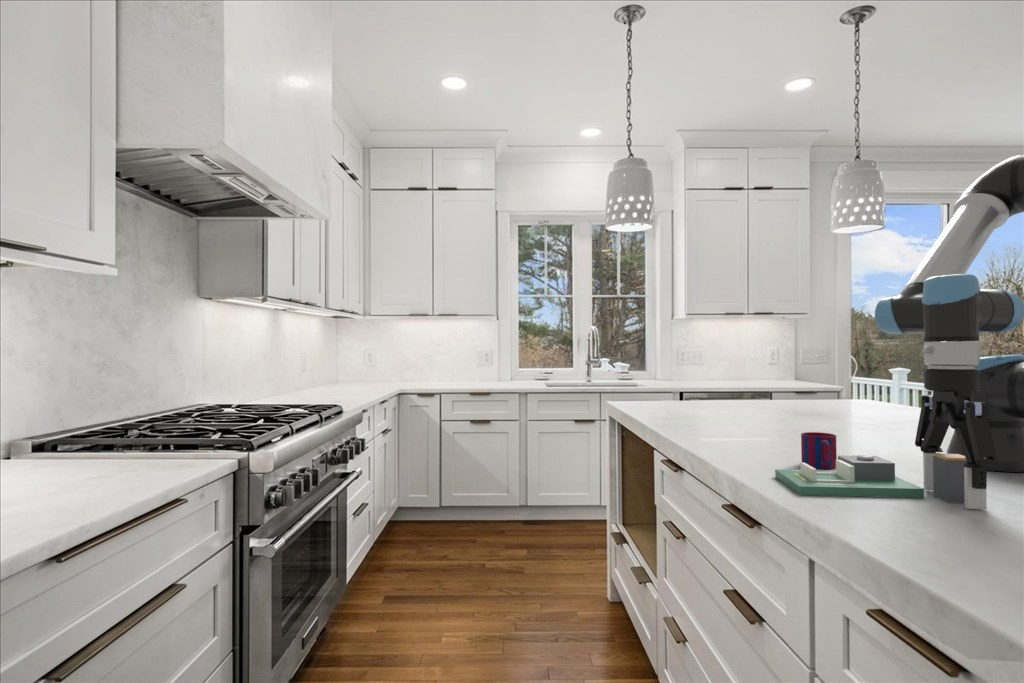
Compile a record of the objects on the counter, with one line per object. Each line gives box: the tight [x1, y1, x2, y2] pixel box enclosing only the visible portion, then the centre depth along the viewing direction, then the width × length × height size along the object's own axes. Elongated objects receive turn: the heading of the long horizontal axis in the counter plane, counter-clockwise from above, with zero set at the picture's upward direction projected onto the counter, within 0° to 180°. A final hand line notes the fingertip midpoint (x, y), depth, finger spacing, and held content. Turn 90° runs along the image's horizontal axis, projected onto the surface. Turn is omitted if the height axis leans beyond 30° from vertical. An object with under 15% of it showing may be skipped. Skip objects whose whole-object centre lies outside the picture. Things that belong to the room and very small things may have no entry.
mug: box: [800, 431, 838, 470], centre depth 124 cm, size 7×10×7 cm
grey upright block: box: [933, 453, 967, 504], centre depth 98 cm, size 4×4×7 cm
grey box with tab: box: [837, 454, 896, 480], centre depth 110 cm, size 7×7×4 cm
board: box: [774, 459, 925, 498], centre depth 108 cm, size 20×14×4 cm
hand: (953, 498), depth 98 cm, fingers open, 11 cm apart
